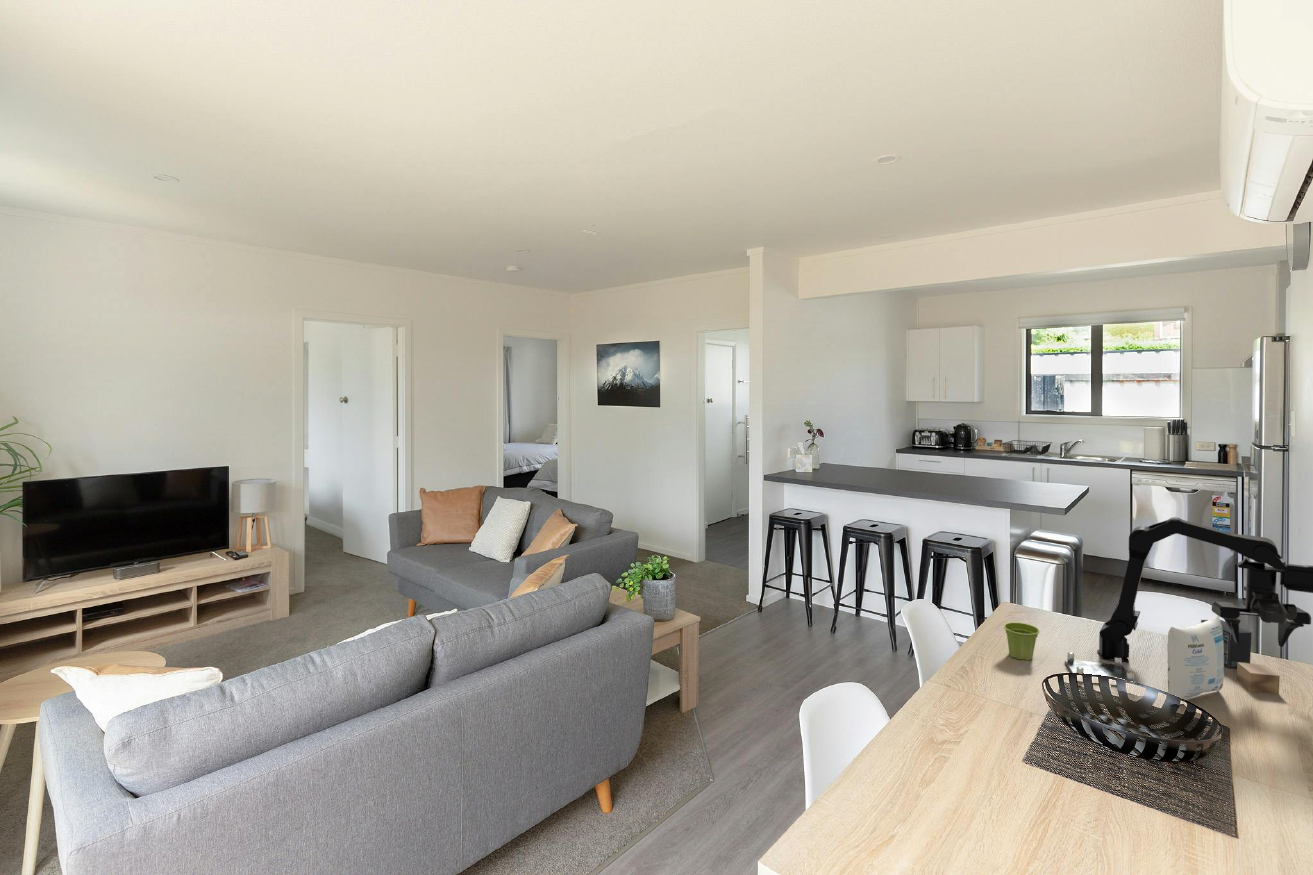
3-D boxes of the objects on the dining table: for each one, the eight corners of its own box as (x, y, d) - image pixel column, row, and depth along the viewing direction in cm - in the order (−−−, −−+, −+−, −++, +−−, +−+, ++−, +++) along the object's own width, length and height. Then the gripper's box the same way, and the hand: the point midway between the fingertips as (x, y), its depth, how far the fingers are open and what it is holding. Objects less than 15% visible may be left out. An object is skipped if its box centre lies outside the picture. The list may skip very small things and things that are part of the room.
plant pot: (1045, 657, 195) (1045, 628, 195) (1029, 665, 190) (1029, 636, 189) (1013, 647, 203) (1013, 620, 202) (997, 655, 198) (997, 627, 197)
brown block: (1249, 691, 171) (1250, 672, 171) (1236, 680, 178) (1237, 662, 177) (1278, 694, 169) (1279, 675, 169) (1264, 683, 176) (1265, 664, 175)
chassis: (1075, 681, 179) (1076, 669, 179) (1064, 662, 191) (1064, 651, 191) (1137, 688, 174) (1137, 675, 174) (1121, 668, 186) (1121, 656, 186)
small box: (1252, 668, 184) (1253, 631, 184) (1228, 668, 184) (1230, 632, 184) (1220, 653, 195) (1222, 618, 194) (1198, 653, 195) (1199, 619, 194)
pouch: (1237, 698, 167) (1240, 621, 166) (1184, 711, 162) (1186, 632, 160) (1203, 685, 175) (1206, 612, 173) (1151, 697, 169) (1153, 621, 168)
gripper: (1231, 592, 167) (1229, 652, 168) (1325, 598, 161) (1322, 660, 162) (1211, 580, 178) (1209, 636, 179) (1299, 585, 171) (1297, 644, 172)
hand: (1258, 644), depth 173 cm, fingers open, 9 cm apart
